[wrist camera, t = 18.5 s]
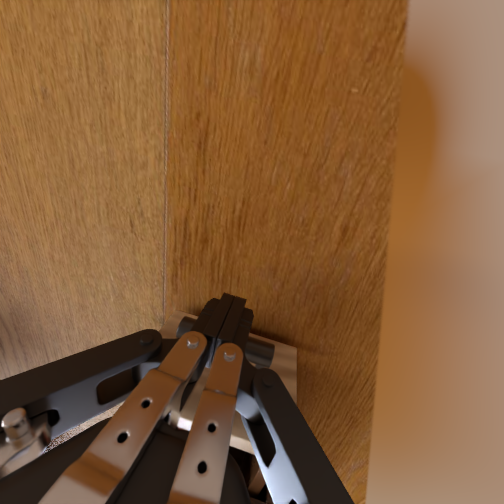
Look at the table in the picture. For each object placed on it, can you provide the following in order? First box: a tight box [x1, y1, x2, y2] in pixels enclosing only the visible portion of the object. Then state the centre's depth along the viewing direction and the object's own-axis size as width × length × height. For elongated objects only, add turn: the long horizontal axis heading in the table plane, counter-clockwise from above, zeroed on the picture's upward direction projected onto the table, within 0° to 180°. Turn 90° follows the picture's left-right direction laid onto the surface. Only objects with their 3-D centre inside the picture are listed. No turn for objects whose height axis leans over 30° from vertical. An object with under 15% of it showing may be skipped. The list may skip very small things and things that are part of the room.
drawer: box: [118, 310, 297, 499], centre depth 18 cm, size 18×11×8 cm, turn 167°
